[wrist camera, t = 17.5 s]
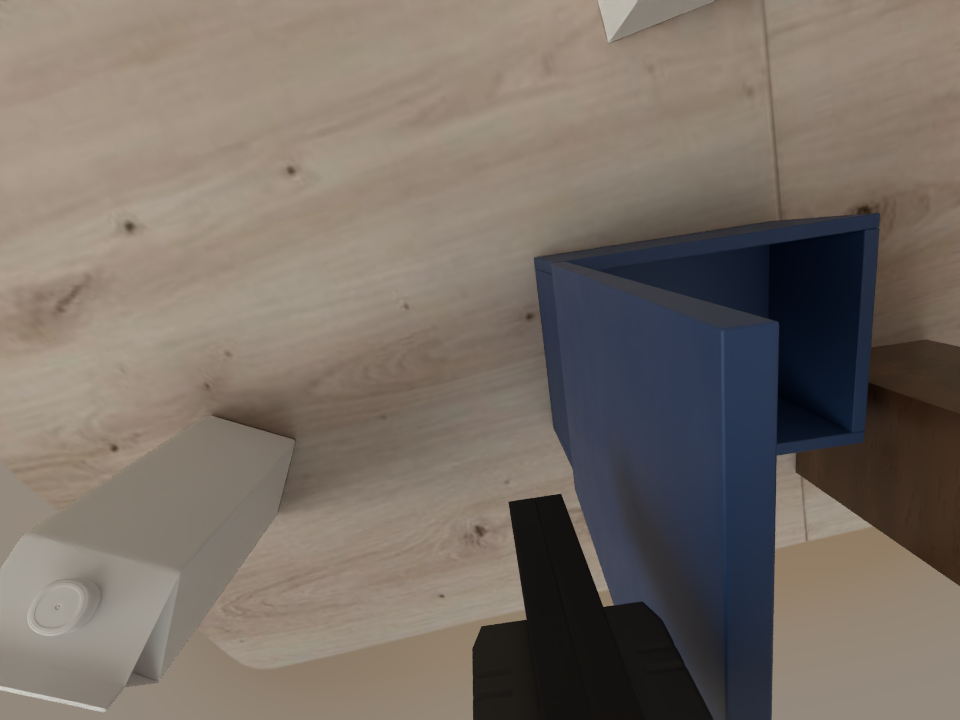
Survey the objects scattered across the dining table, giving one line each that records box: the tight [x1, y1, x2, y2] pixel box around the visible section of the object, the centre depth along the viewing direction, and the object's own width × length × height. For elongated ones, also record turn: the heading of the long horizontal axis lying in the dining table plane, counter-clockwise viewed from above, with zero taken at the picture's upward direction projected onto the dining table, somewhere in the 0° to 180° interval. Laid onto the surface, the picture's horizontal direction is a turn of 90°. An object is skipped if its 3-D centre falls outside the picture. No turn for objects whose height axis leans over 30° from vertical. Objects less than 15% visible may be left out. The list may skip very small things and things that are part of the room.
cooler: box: [534, 213, 880, 468], centre depth 30 cm, size 18×14×9 cm
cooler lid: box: [551, 262, 779, 720], centre depth 17 cm, size 18×14×1 cm
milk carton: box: [0, 415, 295, 712], centre depth 27 cm, size 7×7×19 cm
